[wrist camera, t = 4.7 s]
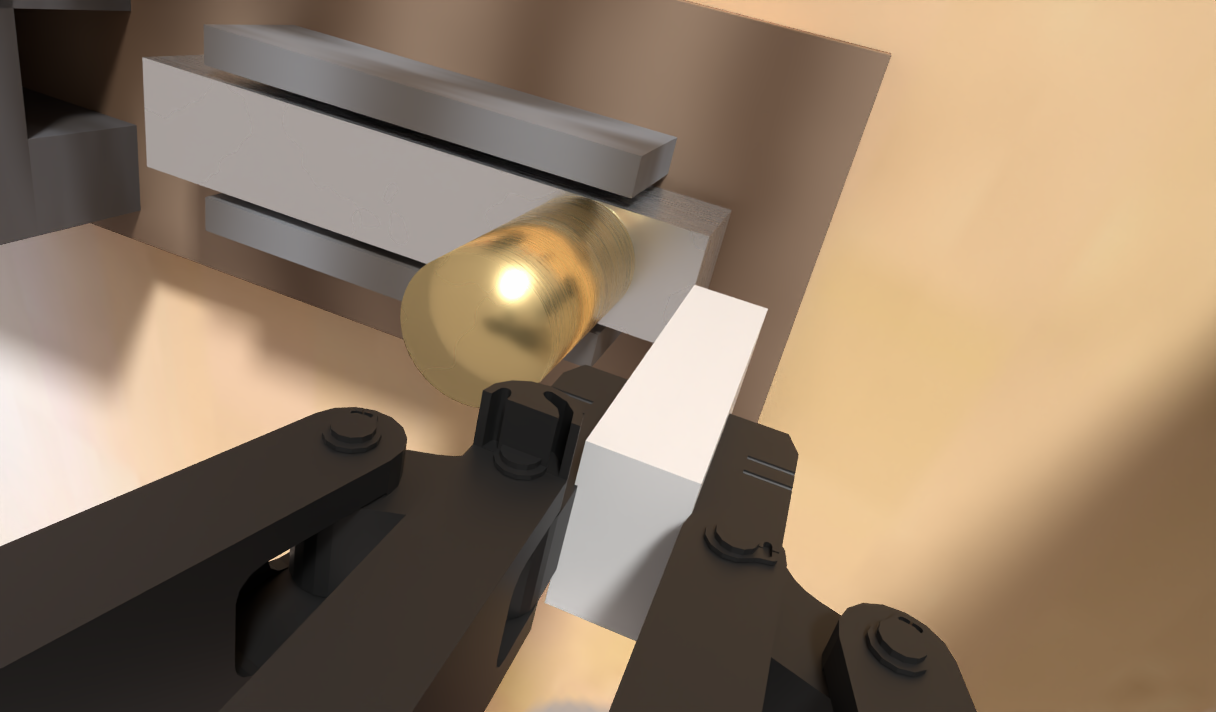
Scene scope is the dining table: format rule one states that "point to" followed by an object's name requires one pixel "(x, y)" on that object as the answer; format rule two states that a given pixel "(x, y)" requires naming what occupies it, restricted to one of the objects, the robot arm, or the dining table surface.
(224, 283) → the dining table surface
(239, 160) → the bolt
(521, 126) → the lock frame
